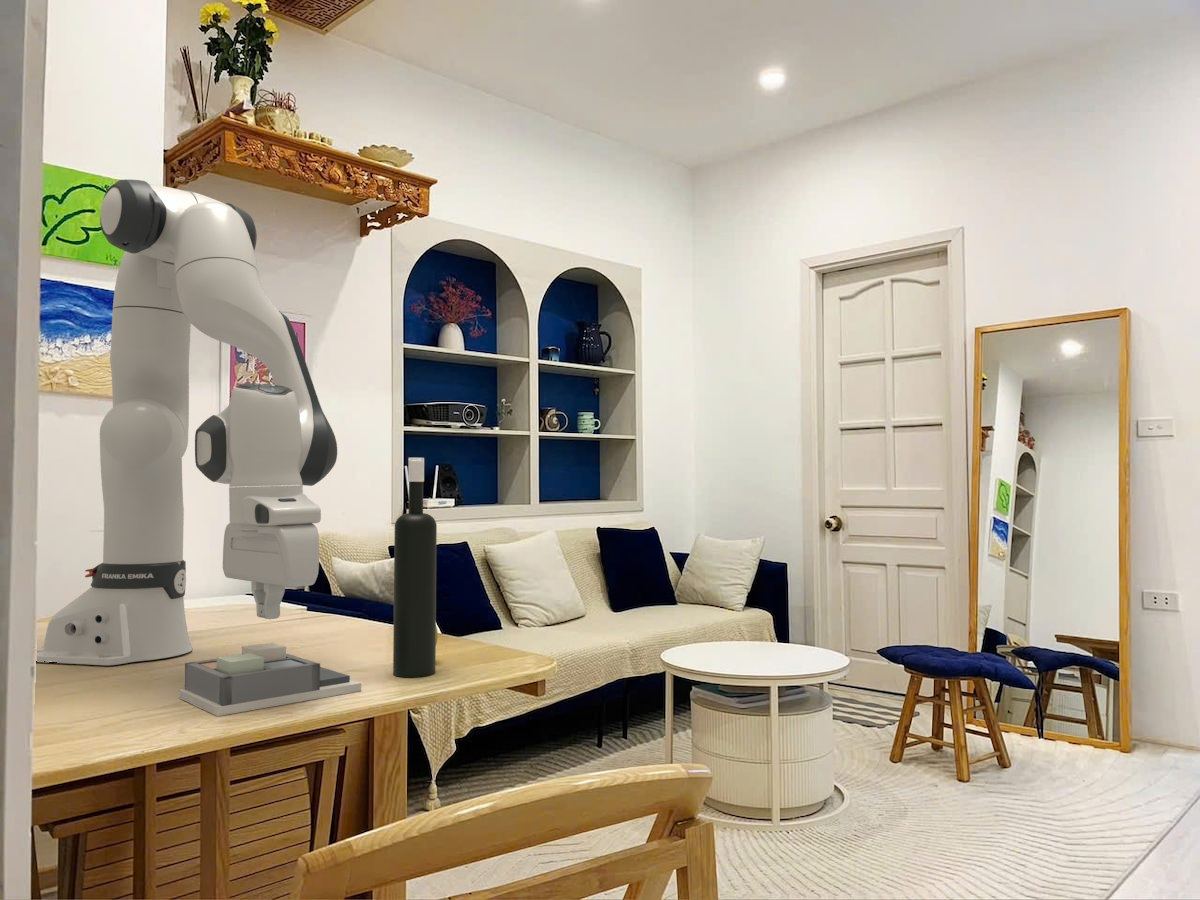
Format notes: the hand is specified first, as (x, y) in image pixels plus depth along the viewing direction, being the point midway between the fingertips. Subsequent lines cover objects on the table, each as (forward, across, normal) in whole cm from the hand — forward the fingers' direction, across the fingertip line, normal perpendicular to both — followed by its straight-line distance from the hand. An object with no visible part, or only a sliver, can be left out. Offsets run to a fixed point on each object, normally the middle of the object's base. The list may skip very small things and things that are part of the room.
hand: (268, 617), depth 114 cm
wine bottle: (+10, +4, +19) cm, 22 cm away
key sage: (+6, +5, -6) cm, 9 cm away
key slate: (+7, +5, -1) cm, 9 cm away
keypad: (+9, +2, -1) cm, 9 cm away
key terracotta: (+7, 0, -6) cm, 9 cm away
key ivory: (+6, 0, -1) cm, 6 cm away
